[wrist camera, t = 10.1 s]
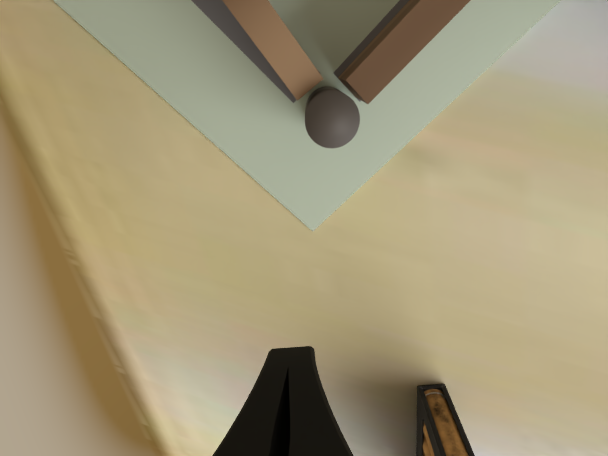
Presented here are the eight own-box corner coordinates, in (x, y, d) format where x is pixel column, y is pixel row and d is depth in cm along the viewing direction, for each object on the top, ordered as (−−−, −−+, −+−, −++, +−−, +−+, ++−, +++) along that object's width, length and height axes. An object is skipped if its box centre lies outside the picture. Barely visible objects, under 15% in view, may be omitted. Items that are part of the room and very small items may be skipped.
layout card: (559, -1, 15) (563, -2, 15) (312, 229, 20) (312, 231, 19) (295, -411, 11) (295, -421, 11) (56, 1, 15) (52, 0, 15)
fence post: (499, -39, 15) (573, -82, 11) (326, 138, 18) (331, 159, 14) (470, -82, 14) (537, -144, 10) (296, 109, 17) (293, 121, 13)
